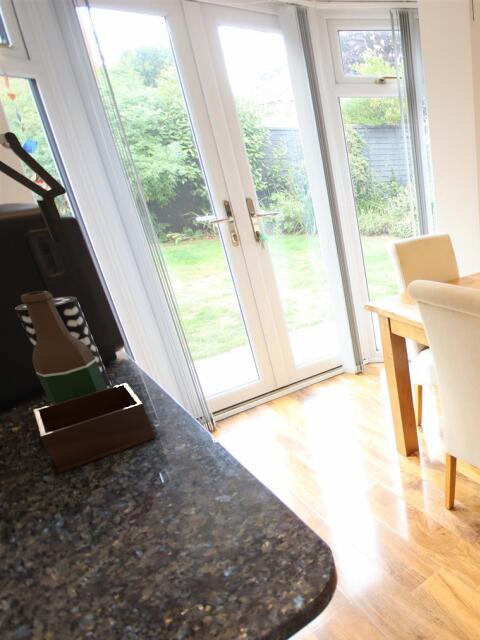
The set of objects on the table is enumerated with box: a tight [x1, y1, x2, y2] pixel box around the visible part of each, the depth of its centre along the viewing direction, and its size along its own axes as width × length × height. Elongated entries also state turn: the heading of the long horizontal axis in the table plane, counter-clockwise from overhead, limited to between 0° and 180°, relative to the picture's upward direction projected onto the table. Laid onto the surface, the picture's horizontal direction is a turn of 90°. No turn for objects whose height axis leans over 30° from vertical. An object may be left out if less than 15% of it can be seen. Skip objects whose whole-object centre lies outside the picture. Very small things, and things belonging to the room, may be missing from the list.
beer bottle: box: [20, 290, 107, 405], centre depth 80 cm, size 8×8×24 cm
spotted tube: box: [14, 296, 113, 388], centre depth 88 cm, size 8×8×20 cm
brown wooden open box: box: [33, 382, 156, 474], centre depth 76 cm, size 12×12×7 cm
